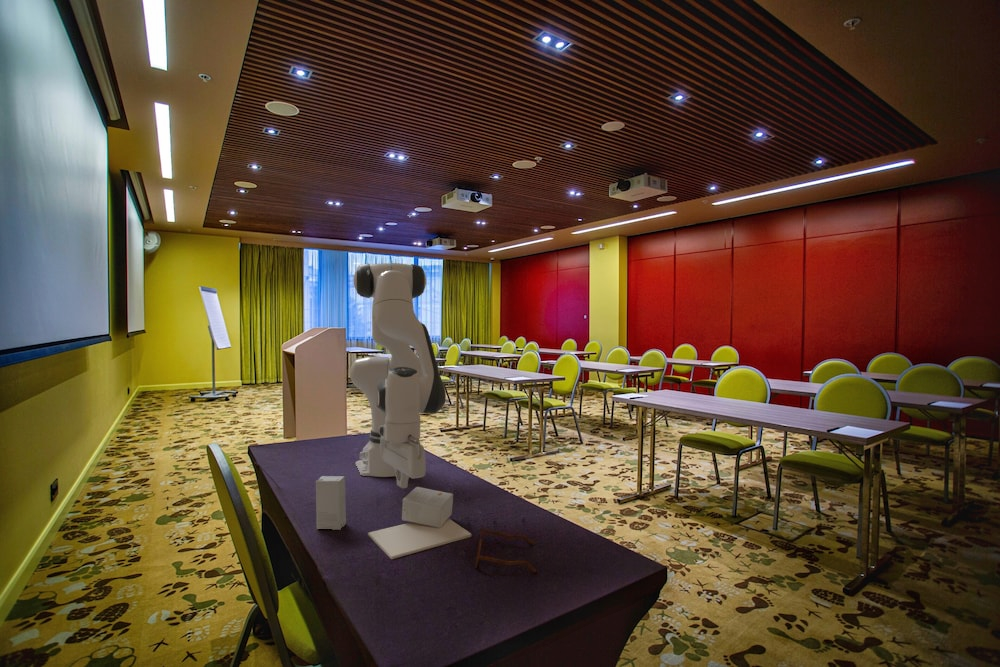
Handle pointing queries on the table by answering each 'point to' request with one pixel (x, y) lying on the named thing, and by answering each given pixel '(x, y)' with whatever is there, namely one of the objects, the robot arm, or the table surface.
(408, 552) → the felt mat
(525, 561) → the glasses
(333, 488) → the skincare box
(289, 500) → the table surface
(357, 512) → the table surface
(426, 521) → the small box
